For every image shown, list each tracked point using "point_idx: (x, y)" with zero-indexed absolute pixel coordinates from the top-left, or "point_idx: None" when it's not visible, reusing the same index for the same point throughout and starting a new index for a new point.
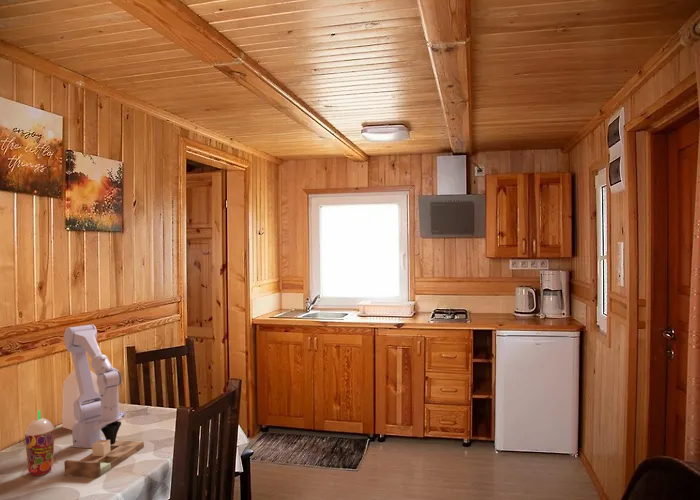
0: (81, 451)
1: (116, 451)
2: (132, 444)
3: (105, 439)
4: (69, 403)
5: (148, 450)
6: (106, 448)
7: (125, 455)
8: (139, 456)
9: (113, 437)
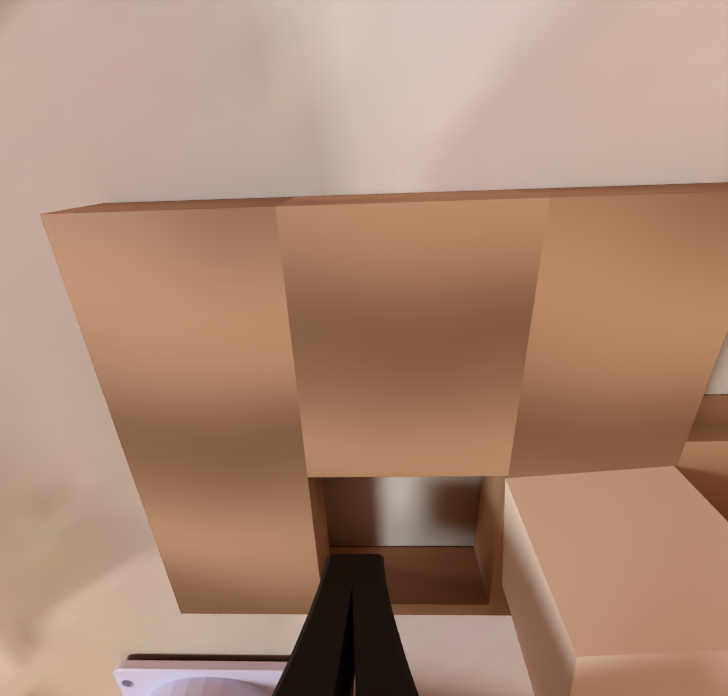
0: None
1: (512, 402)
2: (216, 334)
3: (132, 677)
4: None
5: (178, 16)
6: (648, 536)
7: (598, 193)
8: (447, 9)
9: (385, 660)
